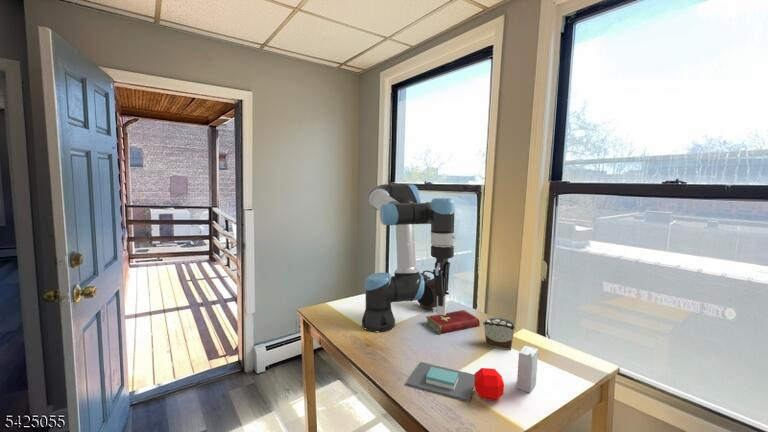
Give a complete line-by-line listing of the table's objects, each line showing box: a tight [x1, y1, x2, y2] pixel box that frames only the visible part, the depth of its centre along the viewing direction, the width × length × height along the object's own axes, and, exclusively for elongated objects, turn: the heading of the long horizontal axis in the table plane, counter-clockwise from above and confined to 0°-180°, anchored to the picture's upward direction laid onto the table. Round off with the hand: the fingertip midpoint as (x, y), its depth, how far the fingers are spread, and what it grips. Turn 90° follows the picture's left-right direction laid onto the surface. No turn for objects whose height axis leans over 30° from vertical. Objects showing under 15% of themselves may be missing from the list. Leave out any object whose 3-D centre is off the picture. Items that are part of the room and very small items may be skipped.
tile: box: [426, 367, 458, 390], centre depth 107 cm, size 9×2×6 cm
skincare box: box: [516, 345, 539, 394], centre depth 104 cm, size 6×4×12 cm
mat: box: [405, 361, 475, 403], centre depth 108 cm, size 20×14×1 cm
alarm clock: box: [417, 270, 437, 313], centre depth 169 cm, size 14×7×20 cm, turn 41°
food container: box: [482, 316, 517, 351], centre depth 132 cm, size 12×6×10 cm, turn 65°
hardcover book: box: [426, 309, 481, 335], centre depth 150 cm, size 12×21×4 cm, turn 112°
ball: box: [474, 367, 505, 401], centre depth 100 cm, size 8×8×8 cm
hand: (441, 314), depth 111 cm, fingers closed
